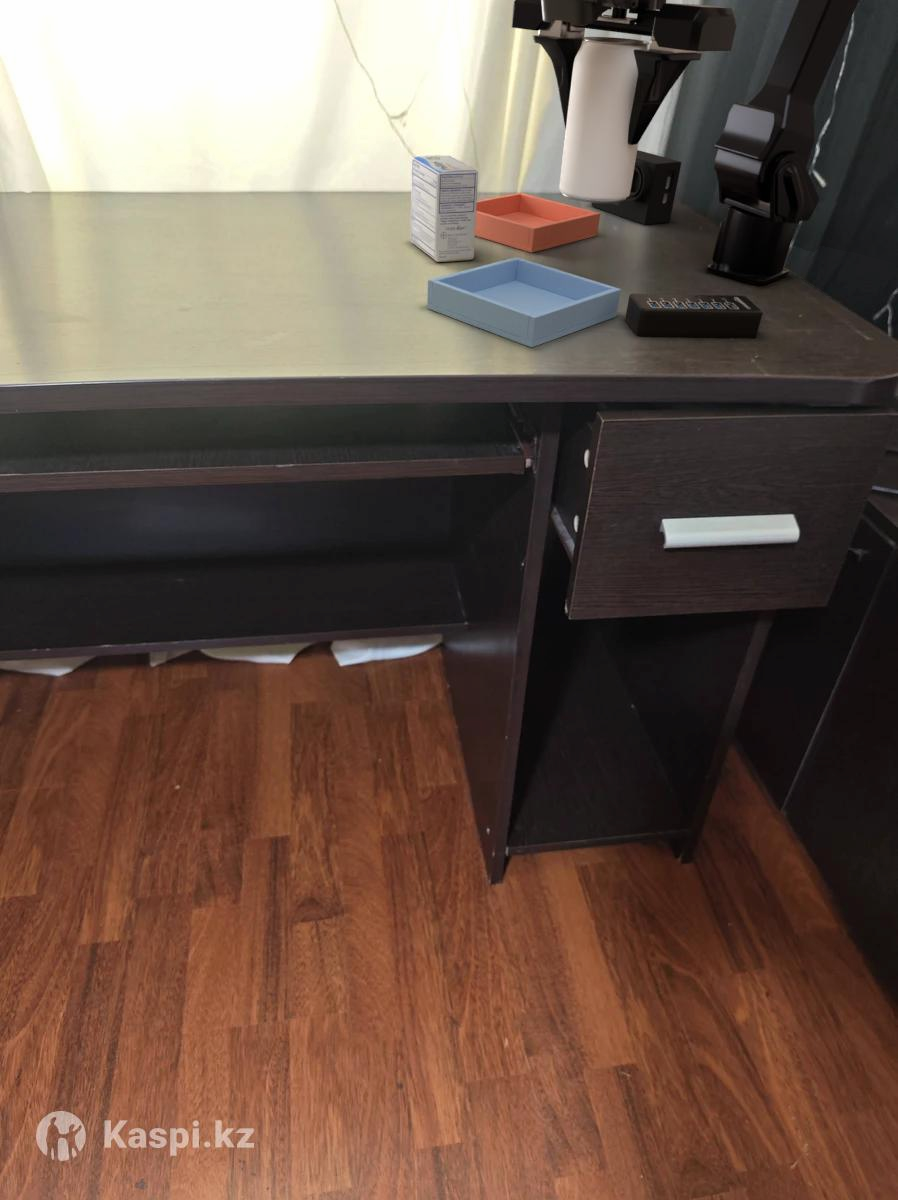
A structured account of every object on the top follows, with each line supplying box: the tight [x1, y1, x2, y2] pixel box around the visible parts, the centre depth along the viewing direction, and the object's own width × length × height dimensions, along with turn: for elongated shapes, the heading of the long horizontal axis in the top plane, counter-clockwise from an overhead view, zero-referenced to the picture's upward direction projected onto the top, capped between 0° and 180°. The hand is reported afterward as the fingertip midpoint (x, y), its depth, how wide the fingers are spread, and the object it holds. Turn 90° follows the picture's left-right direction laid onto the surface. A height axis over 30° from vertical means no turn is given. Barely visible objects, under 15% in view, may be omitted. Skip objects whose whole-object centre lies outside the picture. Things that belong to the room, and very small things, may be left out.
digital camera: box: [591, 149, 682, 226], centre depth 107 cm, size 10×5×7 cm, turn 33°
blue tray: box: [426, 256, 622, 348], centre depth 76 cm, size 12×12×2 cm
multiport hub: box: [624, 293, 764, 339], centre depth 75 cm, size 4×11×2 cm, turn 96°
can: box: [558, 36, 650, 204], centre depth 74 cm, size 6×6×12 cm
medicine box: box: [410, 154, 479, 263], centre depth 89 cm, size 8×4×9 cm, turn 22°
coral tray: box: [475, 192, 601, 254], centre depth 99 cm, size 12×12×2 cm
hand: (600, 137), depth 75 cm, fingers closed on can, 6 cm apart
